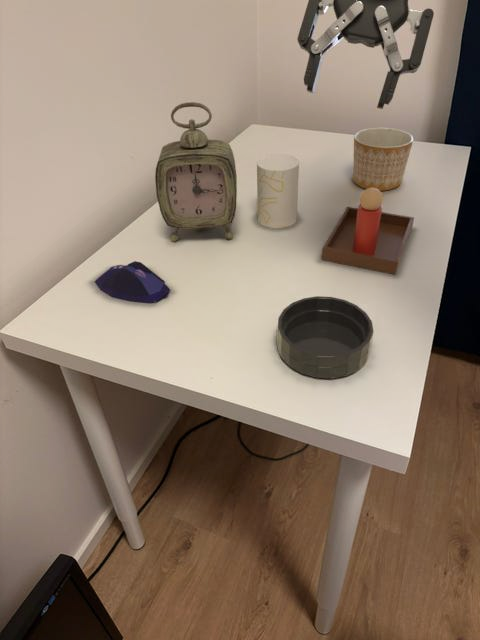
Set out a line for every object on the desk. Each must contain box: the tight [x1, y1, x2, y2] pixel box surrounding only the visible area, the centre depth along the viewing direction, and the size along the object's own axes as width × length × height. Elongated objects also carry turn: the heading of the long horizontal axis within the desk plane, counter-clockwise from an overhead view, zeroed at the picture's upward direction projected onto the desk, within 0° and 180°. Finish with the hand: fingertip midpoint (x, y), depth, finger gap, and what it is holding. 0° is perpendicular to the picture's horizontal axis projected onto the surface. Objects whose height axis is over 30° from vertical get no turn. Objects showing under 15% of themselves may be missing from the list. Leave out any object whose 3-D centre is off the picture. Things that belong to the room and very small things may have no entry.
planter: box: [352, 127, 414, 192], centre depth 110 cm, size 13×13×10 cm
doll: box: [352, 188, 384, 256], centre depth 85 cm, size 4×4×12 cm
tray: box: [321, 206, 415, 275], centre depth 91 cm, size 17×13×3 cm
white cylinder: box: [256, 154, 300, 229], centre depth 97 cm, size 8×8×12 cm
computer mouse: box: [94, 260, 171, 304], centre depth 83 cm, size 9×15×4 cm, turn 58°
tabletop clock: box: [154, 101, 238, 242], centre depth 89 cm, size 14×9×25 cm, turn 90°
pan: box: [276, 295, 374, 379], centre depth 69 cm, size 13×13×4 cm
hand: (344, 99), depth 58 cm, fingers open, 8 cm apart
